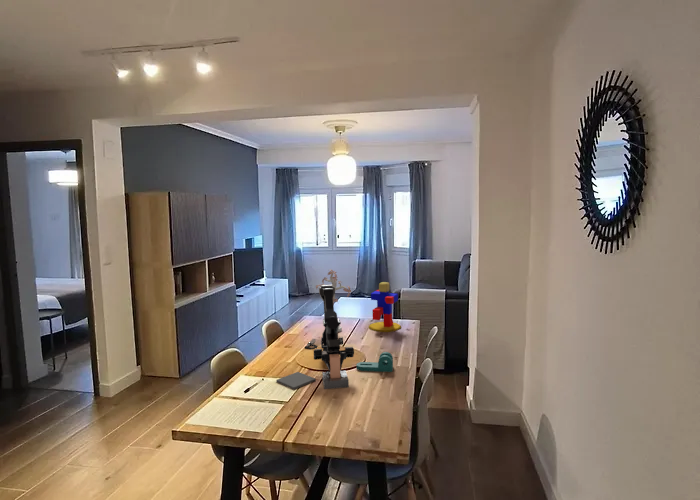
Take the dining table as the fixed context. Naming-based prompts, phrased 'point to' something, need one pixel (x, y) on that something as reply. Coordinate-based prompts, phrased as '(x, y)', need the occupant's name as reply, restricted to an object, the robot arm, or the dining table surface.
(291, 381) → the mat
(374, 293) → the figurine
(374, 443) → the dining table surface
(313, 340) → the micrometer
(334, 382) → the socket block
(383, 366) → the bracket
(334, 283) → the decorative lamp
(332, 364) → the peg
